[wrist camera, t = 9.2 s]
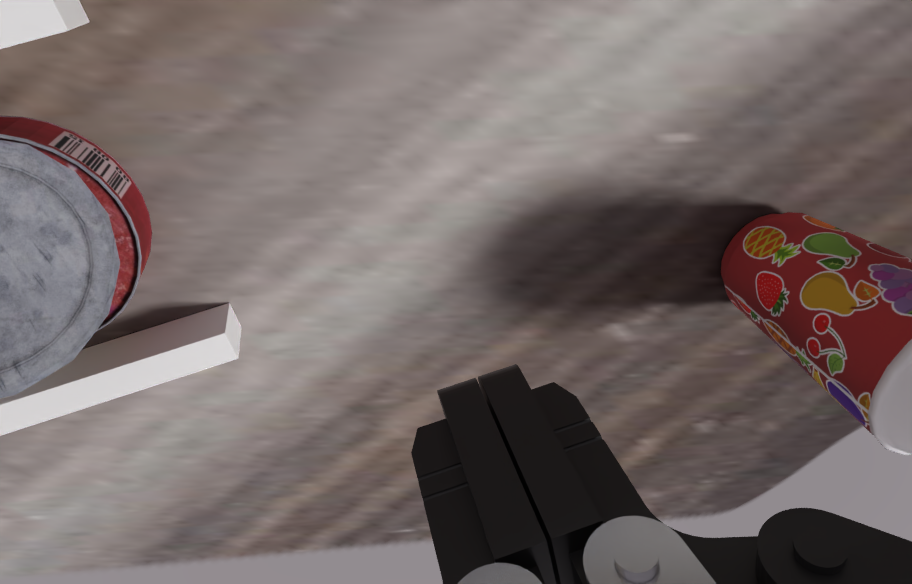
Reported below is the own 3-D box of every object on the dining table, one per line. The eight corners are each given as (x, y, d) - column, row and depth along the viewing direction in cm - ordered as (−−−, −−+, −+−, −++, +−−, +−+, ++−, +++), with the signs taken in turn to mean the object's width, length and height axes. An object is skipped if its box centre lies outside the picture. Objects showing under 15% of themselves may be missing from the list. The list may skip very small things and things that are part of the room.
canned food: (-29, 228, 33) (-279, 278, 23) (49, 70, 29) (-208, 53, 20) (138, 371, 33) (-42, 476, 24) (235, 230, 30) (68, 289, 20)
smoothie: (717, 333, 42) (1010, 596, 25) (685, 237, 38) (1014, 477, 21) (827, 270, 42) (1201, 494, 25) (808, 166, 37) (1246, 351, 20)
